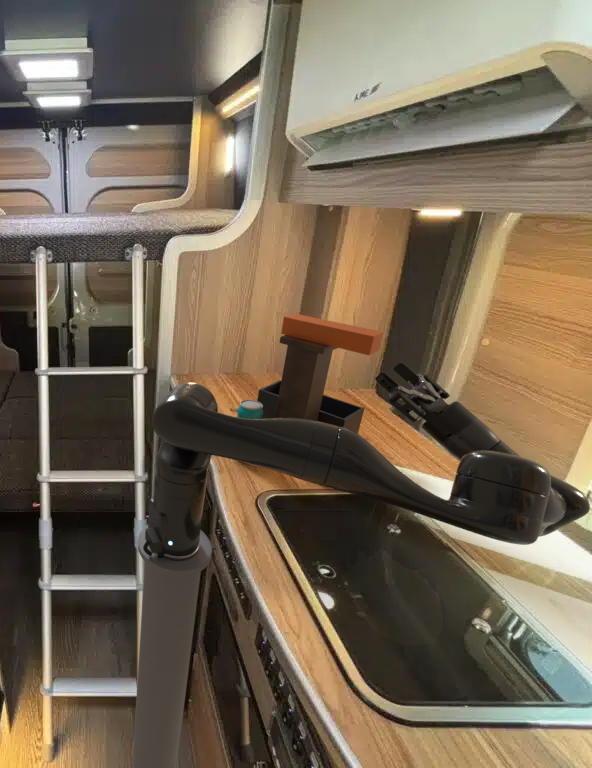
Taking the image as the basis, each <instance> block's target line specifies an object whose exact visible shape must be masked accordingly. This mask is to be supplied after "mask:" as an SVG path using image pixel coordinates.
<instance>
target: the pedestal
mask: <svg viewBox="0 0 592 768" xmlns="http://www.w3.org/2000/svg"><path fill="white" fill-rule="evenodd" d="M279 344H282V345H286V346H287V347H286V352H285V358H284V363H283V369H282V375H281V379H280V380H281V386H280V391H279V397H278V402H277V408H276V414H275V418H303V419H310V420H315V421H317V420H318V416H319V411H320V407H321V402H322V397H323V395H324V392H325V388H326V384H327V380H328V379H327V378H328V376H329V375H328V374H329V370H330V365H331V361H332V356H333V351H334V350H337V349H338V348H337V347H333V346H329V345H325V344H321V343H317V342H313V341H309V340H304V339H300V338H296V337H292V336H288V335H284V334H283V335H281V336H280V337H279Z"/></svg>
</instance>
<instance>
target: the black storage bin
mask: <svg viewBox="0 0 592 768" xmlns="http://www.w3.org/2000/svg"><path fill="white" fill-rule="evenodd" d="M281 380H282V379H280V380H279V379H278V380H276V381H275V382H273V383H270V384H268V385H266V386H263V387H261V388H259V389H258V393H257V399H256V401H258V402H260V403H261V404H262V405H263V417H262V419H271V418H275V414H276V408H277V402H278V397H279V391H280V386H281ZM364 412H365V407H362V406H359V405H356V404H353V403H350V402H347V401H344V400H342V399H338V398H335V397H332V396H329V395H326V394H323V397H322V402H321V407H320V411H319V416H318V420H317V421H319V422H323V423H327V424H331V425H335V426H338V427H343V428H347V429H350V430H352V431H354V432H356V433H357V434H359V431H360V427H361V423H362V419H363V416H364Z"/></svg>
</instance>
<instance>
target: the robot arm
mask: <svg viewBox="0 0 592 768" xmlns="http://www.w3.org/2000/svg"><path fill="white" fill-rule="evenodd" d="M393 371H394V372H395V373H396V374H397V375H398V376H399V377H401V378H402V380H404V381H406V382H408V384H409V386H410V388H411V389H408V388H406V387H404V386H402V385H400V383H399V382H398V381H397V380H395V379H394V378H393V377H392V376H391V375H390V374H389V373H387V372H386V371H382V372H381V373H379V374H378V375H377V376H375V381H376V382H377V383H378V384H379V385H380V386H382V387H383V388H384V390H385V391H387V392H388V393H389V394H388V395H389V397H388V398H387V401H388V403H390V404H391V405H392V406H393V407H395V409H397V410H398V411H399V412H400V413H402V414H403V415H404V416H405V417H406V418H407V419H408V420H409V421H411V422H412V423H416V422H418V421H420V420H421V419H423V420H424V421H425V422H423V423H422V424H421V428H422V429H423V430H424V432H426V433H427V434H428V435H429V436H430V437H431V438H432V439H434V440H435V441H436V442H437V443H438V444H439V445H440V446H441V447H442V448H443V449H445V451H446V452H447V453H449V454H450V455H451V456H452V457H454V458H455V459H457V460H458V461H459V462H458V465H457V468H456V472H455V475H454V478H453V483H452V487H451V491H450V496H449V498H448V499H445V498H442V497H440V496H438V495H436V494H434V493H433V492H431V491H429V490H427V489H426V488H424V487H422V486H421V485H419V484H418V483H416V482H415V481H414V480H413V479H411V478H409V477H408V476H407V475H406V474H405V473H403V472H402V471H401V470H400V469H398V468H397V467H396V466H395V465H394V464H393V463H392V462H391V461H390V460H388V459H387V458H386V457H385V455H383V454H382V453H381V452H380V451H379V450H378V449H377V448H376V447H375V446H374V445H372V443H370V442H369V441H368V440H367V439H366V438H364V437H363V436H362V435H360V434H359V433H358V434H357V433H356V432H354V431H352V430H350V429H347V428H343V427H338V426H335V425H331V424H327V423H323V422H319V421H315V420H310V419H303V418H271V419H245V418H238V417H237V416H233V415H229V414H225V413H222V412H218V411H219V407H218V402H217V400H216V398H215V396H214V394H213V393H212V392H211V391H210V389H208V388H207V387H206V386H204V385H202V384H200V383H199V382H198V383H197V382H189V381H188V382H183V383H180V384H178V385H176V386H175V387H173V388H172V389H171V390H170V391H169V392H168V393H167V394H166V395H165V397H163V399H162V400H161V401H160V403H158V405H157V406H156V407H155V409H154V411H153V413H152V416H151V425H152V426H151V427H152V429H153V431H154V432H155V434H156V435H157V437H158V438H159V439H161V442H160V446H159V448H158V451H157V454H156V459H155V473H154V474H155V475H154V488H153V489H154V490H153V497H151V498H149V501H148V502H149V504H148V517H147V518H148V520H147V525H148V528H146V531H145V540H146V542H145V544H144V546H143V549H144V551H145V552H146V553H147V554H148V555H149V556H151V555H152V553H156V555H157V557H158V558H166V559H169V560H174V561H184V560H188V559H191V558H192V557H194V556H195V555H196V554H197V553H198V550H199V544H200V542H199V541H200V531H202V522H203V513H204V505H205V496H206V488H207V479H208V472H209V465H210V462H211V459H212V456H215V457H221V458H224V459H229V460H234V461H237V462H241V463H245V464H248V465H251V466H253V467H258V468H260V469H265V470H268V471H273V472H276V473H279V474H283V475H286V476H289V477H291V478H293V479H298V480H302V481H303V482H308V483H311V484H315V485H317V486H321V487H322V486H323V487H324V488H327V489H328V488H329V489H332V490H336V491H339V492H343V493H348V494H352V495H354V496H359V497H363V498H366V499H370V500H373V501H377V502H381V503H384V504H386V505H387V504H388V505H391V506H394V507H396V508H397V507H398V508H400V509H403V510H406V511H409V512H411V513H415V514H417V515H420V516H423V517H426V518H429V519H432V520H435V521H438V522H441V523H444V524H447V525H450V526H453V527H455V528H459V529H462V530H465V531H467V532H470V533H473V534H475V535H478V536H483V537H485V538H489V539H493V540H496V541H499V542H503V543H508V544H512V545H518V546H519V545H520V546H528V545H532V544H534V543H536V542H537V541H538V538H539V537H545V536H548V535H550V534H552V533H554V532H556V531H558V530H560V529H562V528H564V527H566V526H567V525H569V524H571V523H573V522H575V521H577V520H579V519H582V518H583V517H585V516H586V515H587V514H589V512H590V509H591V504H590V502H589V499H588V498H587V496H586V495H585V494H584V493H583V492H582V491H581V490H580V489H578V488H577V487H576V486H573V485H572V484H570V483H568V482H566V481H564V480H563V479H560V478H558V477H556V476H554V475H552V474H551V473H550V471H549V470H548V469H547V468H546V467H544V465H541V464H540V463H538V462H536V461H533V460H531V459H528V458H525V457H522V456H521V455H520V454H518V453H517V452H516V451H515V450H514V449H513V448H511V447H510V446H509V445H507V444H506V442H504V441H503V440H502V439H501V438H500V437H499V436H497V434H496V433H495V432H494V431H493V430H492V429H491V428H490V427H489V426H487V425H486V423H484V422H483V421H482V420H481V419H479V418H478V417H477V416H476V415H475V414H474V413H473V412H471V411H470V410H469V409H468V408H467V407H465V406H464V405H463V404H462V403H461V402H460V401H456V400H455V401H453V402H451V403H450V404H449V403H447V402H446V401H445V400H447V399H449V398H451V395H450V394H449V393H448V392H447V391H446V390H445V389H444V388H443V387H442V386H441V385H439V384H438V383H437V382H436V381H435V380H434V379H433V378H432V377H430V376H429V374H427V373H424V374H423V375H422V374H421V373H417V372H416V371H414V370H413V369H412V367H410V366H409V365H407V364H406V363H405V362H404V361H401V362H398V363H397V364H396V365H395V366H394V367H393ZM148 545H149V547H150V549H151V551H152V552H151V551H150V550H148Z"/></svg>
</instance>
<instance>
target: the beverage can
mask: <svg viewBox="0 0 592 768" xmlns="http://www.w3.org/2000/svg"><path fill="white" fill-rule="evenodd" d="M239 404H240V405H239V406H238V408H237V414H236V417H238V418H245V419H262V417H263V405H262V404H261V403H260V402H258V401H257V400H254V399H244V400H241V401H240V403H239Z"/></svg>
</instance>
